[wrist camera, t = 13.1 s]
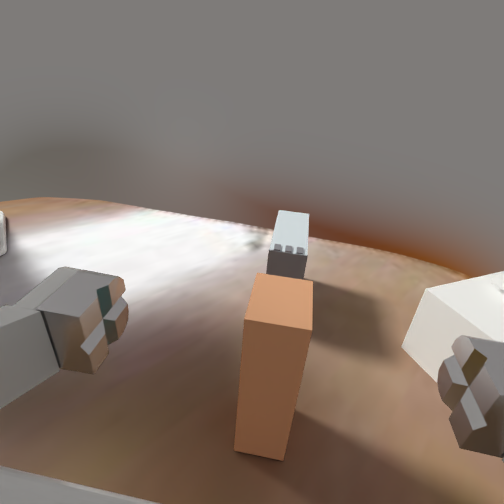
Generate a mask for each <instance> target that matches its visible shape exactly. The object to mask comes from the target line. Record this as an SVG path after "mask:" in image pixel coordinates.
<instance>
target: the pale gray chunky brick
mask: <svg viewBox="0 0 504 504" xmlns="http://www.w3.org/2000/svg"><path fill="white" fill-rule="evenodd" d="M308 226H309V214H305V213H298V212H289V211H282V210H279V212H278V216H277V220H276V224H275V229H274V233H273V237H272V241H271V245H270V249H269V254H268V263H267V272H266V274H269V275H275V276H282V277H289V278H295V279H302V280H303V278H304V273H305V267H306V262H307V256H308V255H307V250H308Z"/></svg>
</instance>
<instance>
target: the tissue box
mask: <svg viewBox="0 0 504 504" xmlns="http://www.w3.org/2000/svg"><path fill="white" fill-rule="evenodd" d="M461 335H464V336H470V337H476V338H482V339H488V340H494V341H501V342H504V271H503V272H499V273H494V274H489V275H485V276H480V277H476V278H471V279H467V280H463V281H458V282H454V283H449V284H445V285H440V286H436V287H432V288H427V289H425V292H424V294H423V297H422V299H421V301H420V304H419V306H418V308H417V311H416V313H415V316H414V318H413V320H412V323H411V325H410V327H409V330H408V332H407V335H406V337H405V339H404V342H403V344H402V346H401V347H402V348H403V349H404V350H405V351H406V352H407V353H408V354H409V355H410V356H411V357H412V358H413V359H414V360H415V361H416V362H417V363H418V364H419V365H420V366H421V367H422V368H423V369H424V370H425V371H426V372H427V373H428V374H429V375H430V376H431V377H432V378H433V379H434V380H435V381H436V382H437V380H438V371H439V368H440V366H441V364H442V362H443V360H445V359H447V358H449V357H451V356H452V355H454V353H453V350H452V348H451V346H452V344H453V343H454V341H455V339H456V338H458V337H459V336H461Z"/></svg>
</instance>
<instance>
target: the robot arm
mask: <svg viewBox="0 0 504 504" xmlns="http://www.w3.org/2000/svg"><path fill="white" fill-rule="evenodd" d="M6 252H7V243H6V218H5V215H4V213H3V212H2V211H0V256H1V255H3V254H5V253H6ZM124 292H125V285H124V280H123V279H122V278H120V277H118V276H113V275H108V274H103V273H98V272H93V271H87V270H80V269H75V268H70V267H61V268H58V269H57V270H56V271H54V272H53V273H52V274H51V275H50V276H48V277H47V278H46V279H45V280H44V281H42V282H41V283H40V284H39V285H37V286H36V287H35V288H34V289H33V290H31V291H30V292H29V293H28V294H27V295H25V296H24V297H23V298H22V299H20V300H19V301H18V302H17V303H16V304H14V305H13V306H10V305H5V306H2V307H0V409H1V408H3V407H4V406H6V405H7V404H9V403H10V402H12V401H14V400H15V399H17V398H18V397H20V396H21V395H23V394H24V393H26V392H28V391H29V390H31V389H32V388H34V387H35V386H37V385H38V384H40V383H42V382H43V381H45V380H46V379H48V378H49V377H51V376H52V375H54V374H56V373H57V372H59V371H60V369H65V370H71V371H77V372H82V373H88V374H95V372H96V371H97V369H98V368H99V367H100V365H101V364H102V362H103V361H104V359H105V358H106V357H107V355H108V354H109V349H108V345H109V344H111V343H112V342H114V341H116V340H118V339H119V338H120V336H121V335H122V333H123V332H124V329H125V327H126V324H127V321H128V312H129V311H128V304H127V303H126V301H125V300H124V299H123V298H122V297H121V295H122V294H123V293H124ZM451 348H452V350H453V353H454V355H452V356H451V357H449V358H447V359H445V360H443V362H442V364H441V366H440V368H439V371H438V380H437V383H438V390H439V393H440V396H441V399H442V401H443V402H444V403H445V404H446V405H447V406H448V407H449V408H450V409H451V410H452V413H451V415H450V417H449V421H450V424H451V426H452V429H453V432H454V434H455V437H456V440H457V442H458V445H459V448H461V449H465V450H470V451H474V452H478V453H483V454H487V455H491V456H496V457H500V458H503V459H502V461H503V462H504V342H501V341H494V340H488V339H482V338H476V337H470V336H464V335H461V336H459V337H458V338H456V339H455V341H454V343H453V344H452V346H451ZM0 504H161V503H157V502H153V501H148V500H144V499H140V498H136V497H132V496H127V495H123V494H119V493H115V492H110V491H106V490H102V489H98V488H93V487H89V486H85V485H81V484H76V483H72V482H68V481H64V480H60V479H55V478H51V477H47V476H43V475H38V474H34V473H30V472H26V471H21V470H17V469H13V468H9V467H4V466H0Z"/></svg>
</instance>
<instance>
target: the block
mask: <svg viewBox="0 0 504 504" xmlns="http://www.w3.org/2000/svg"><path fill="white" fill-rule="evenodd" d="M312 314H313V281H308V280H302V279H295V278H289V277H282V276H275V275H269V274H262V273H257V275H256V278H255V282H254V286H253V289H252V293H251V296H250V300H249V304H248V307H247V311H246V315H245V318H244V329H243V342H242V354H241V367H240V380H239V392H238V405H237V418H236V430H235V443H234V451H239V452H243V453H248V454H253V455H258V456H262V457H267V458H272V459H277V460H281V461H283V460H284V456H285V451H286V447H287V442H288V438H289V433H290V429H291V424H292V420H293V415H294V411H295V406H296V402H297V397H298V393H299V388H300V384H301V379H302V375H303V370H304V366H305V361H306V357H307V352H308V348H309V343H310V339H311V334H312Z"/></svg>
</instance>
